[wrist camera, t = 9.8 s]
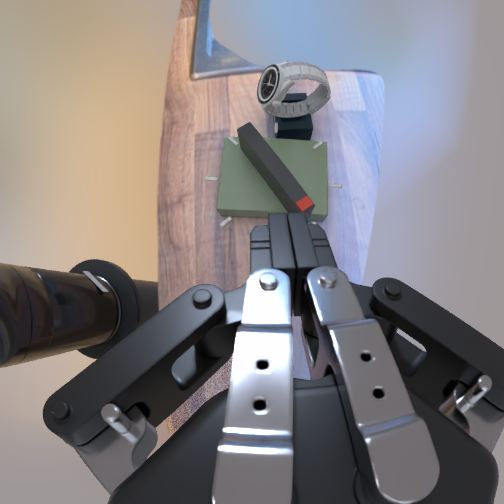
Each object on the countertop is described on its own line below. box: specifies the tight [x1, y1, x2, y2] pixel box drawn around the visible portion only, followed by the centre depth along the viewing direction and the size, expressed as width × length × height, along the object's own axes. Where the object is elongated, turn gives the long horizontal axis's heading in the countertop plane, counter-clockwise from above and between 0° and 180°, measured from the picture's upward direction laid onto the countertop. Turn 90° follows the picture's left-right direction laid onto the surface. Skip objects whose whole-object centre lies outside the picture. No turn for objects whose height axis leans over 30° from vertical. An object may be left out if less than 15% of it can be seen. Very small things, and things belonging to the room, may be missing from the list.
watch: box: [257, 61, 331, 141], centre depth 31 cm, size 6×8×11 cm
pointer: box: [237, 122, 315, 219], centre depth 30 cm, size 11×2×5 cm, turn 34°
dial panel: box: [205, 123, 342, 227], centre depth 34 cm, size 15×15×3 cm
